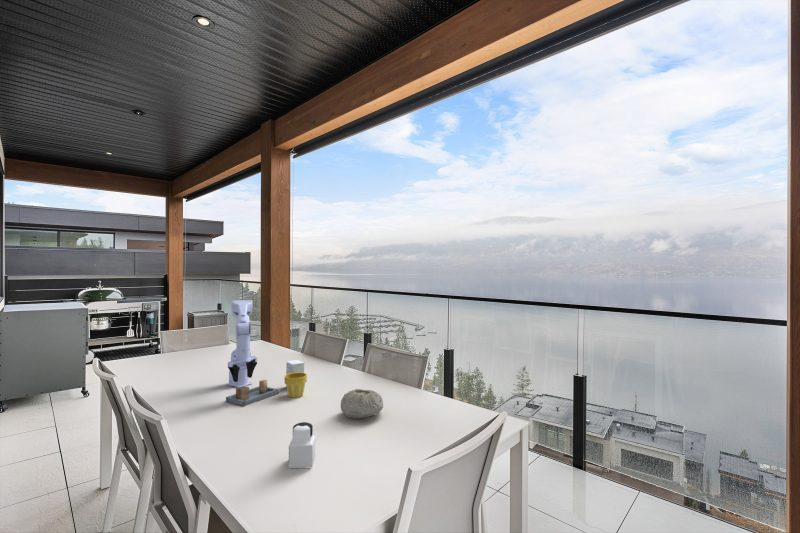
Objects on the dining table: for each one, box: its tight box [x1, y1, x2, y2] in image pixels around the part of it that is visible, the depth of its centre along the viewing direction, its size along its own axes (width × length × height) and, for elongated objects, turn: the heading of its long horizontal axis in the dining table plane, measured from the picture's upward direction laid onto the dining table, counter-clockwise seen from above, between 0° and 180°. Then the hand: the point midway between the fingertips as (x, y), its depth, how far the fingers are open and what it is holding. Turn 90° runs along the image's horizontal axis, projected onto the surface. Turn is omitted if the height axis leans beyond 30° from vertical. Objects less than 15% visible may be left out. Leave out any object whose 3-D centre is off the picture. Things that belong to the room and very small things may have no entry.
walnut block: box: [235, 386, 250, 401], centre depth 175 cm, size 4×4×6 cm
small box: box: [285, 359, 305, 388], centre depth 196 cm, size 8×6×13 cm
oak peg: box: [258, 379, 268, 394], centre depth 186 cm, size 4×4×6 cm
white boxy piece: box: [288, 421, 317, 469], centre depth 121 cm, size 7×7×12 cm
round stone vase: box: [340, 388, 384, 419], centre depth 160 cm, size 18×18×10 cm
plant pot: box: [284, 372, 308, 399], centre depth 184 cm, size 10×10×10 cm
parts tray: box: [225, 386, 280, 407], centre depth 180 cm, size 12×20×2 cm, turn 151°
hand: (242, 379), depth 175 cm, fingers open, 7 cm apart
